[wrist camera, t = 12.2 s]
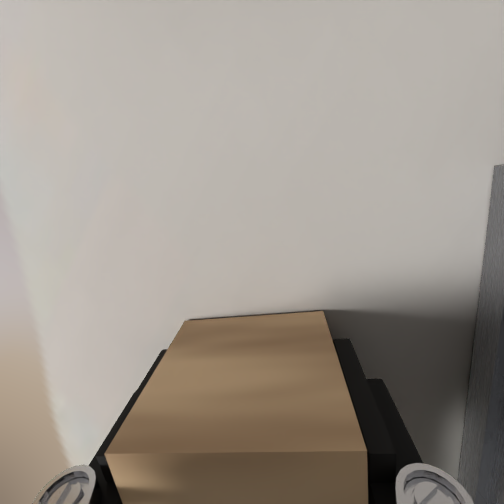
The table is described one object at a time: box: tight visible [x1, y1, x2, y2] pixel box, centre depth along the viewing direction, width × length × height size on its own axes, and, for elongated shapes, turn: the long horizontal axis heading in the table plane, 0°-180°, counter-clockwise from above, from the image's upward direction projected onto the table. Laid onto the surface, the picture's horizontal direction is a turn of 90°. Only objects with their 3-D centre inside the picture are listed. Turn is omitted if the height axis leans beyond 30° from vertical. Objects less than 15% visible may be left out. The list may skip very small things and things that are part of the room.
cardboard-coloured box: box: [105, 311, 368, 504], centre depth 9 cm, size 10×5×5 cm, turn 8°
